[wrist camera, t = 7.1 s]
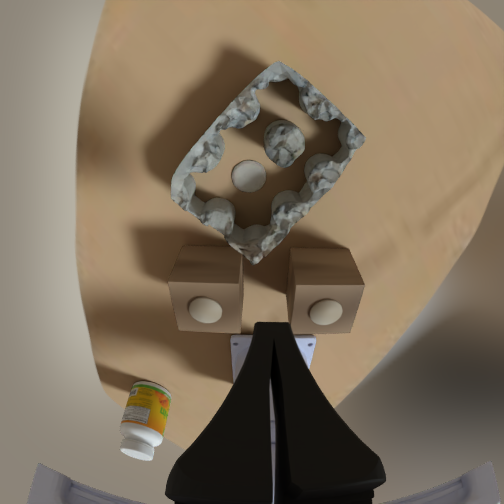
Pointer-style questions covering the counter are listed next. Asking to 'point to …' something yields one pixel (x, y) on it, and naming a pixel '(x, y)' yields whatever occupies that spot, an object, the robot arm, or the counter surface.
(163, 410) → the supplement bottle
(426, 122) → the counter surface
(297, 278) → the dotted block
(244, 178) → the egg carton
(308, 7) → the counter surface
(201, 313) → the dotted block
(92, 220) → the counter surface
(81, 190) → the counter surface
